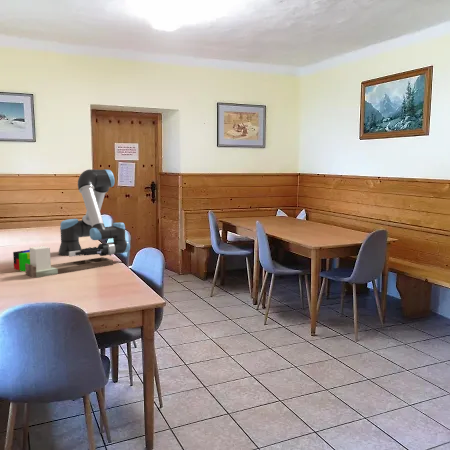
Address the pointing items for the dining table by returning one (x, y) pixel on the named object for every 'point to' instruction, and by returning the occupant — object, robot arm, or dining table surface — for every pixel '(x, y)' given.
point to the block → (40, 258)
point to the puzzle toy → (21, 259)
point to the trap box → (68, 267)
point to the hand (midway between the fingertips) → (69, 254)
